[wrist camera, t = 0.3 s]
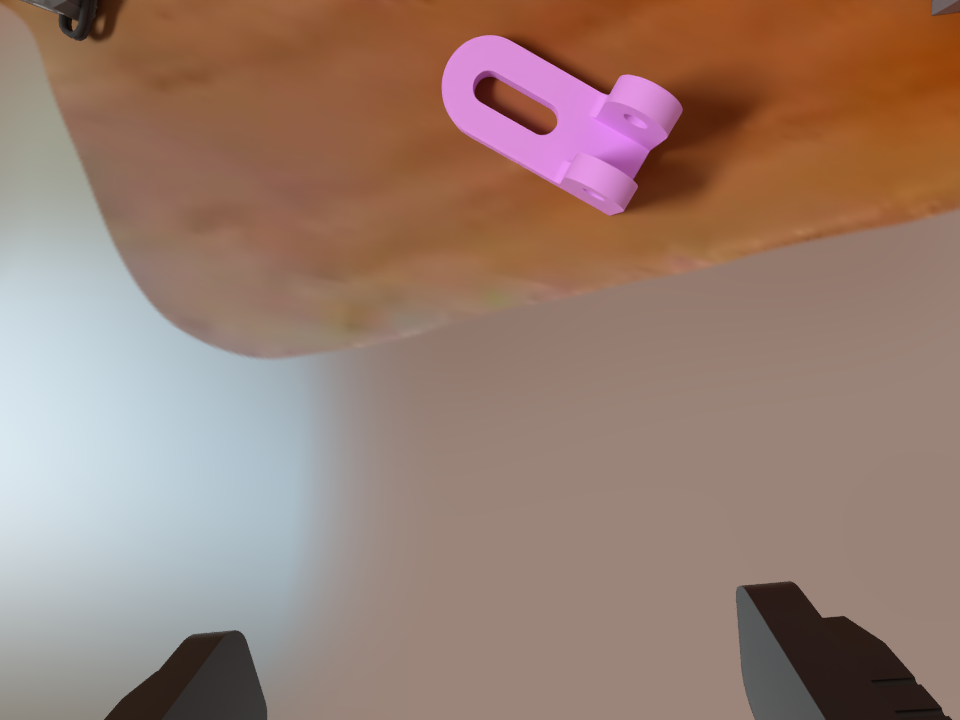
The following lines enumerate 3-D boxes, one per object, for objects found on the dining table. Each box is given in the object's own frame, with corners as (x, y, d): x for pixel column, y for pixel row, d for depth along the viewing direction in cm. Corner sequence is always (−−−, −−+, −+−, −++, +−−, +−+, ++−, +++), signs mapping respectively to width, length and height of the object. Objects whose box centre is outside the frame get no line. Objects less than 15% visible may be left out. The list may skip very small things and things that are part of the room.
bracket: (657, 132, 32) (691, 104, 26) (609, 215, 34) (629, 209, 27) (471, 26, 32) (456, -31, 25) (429, 114, 33) (405, 82, 27)
